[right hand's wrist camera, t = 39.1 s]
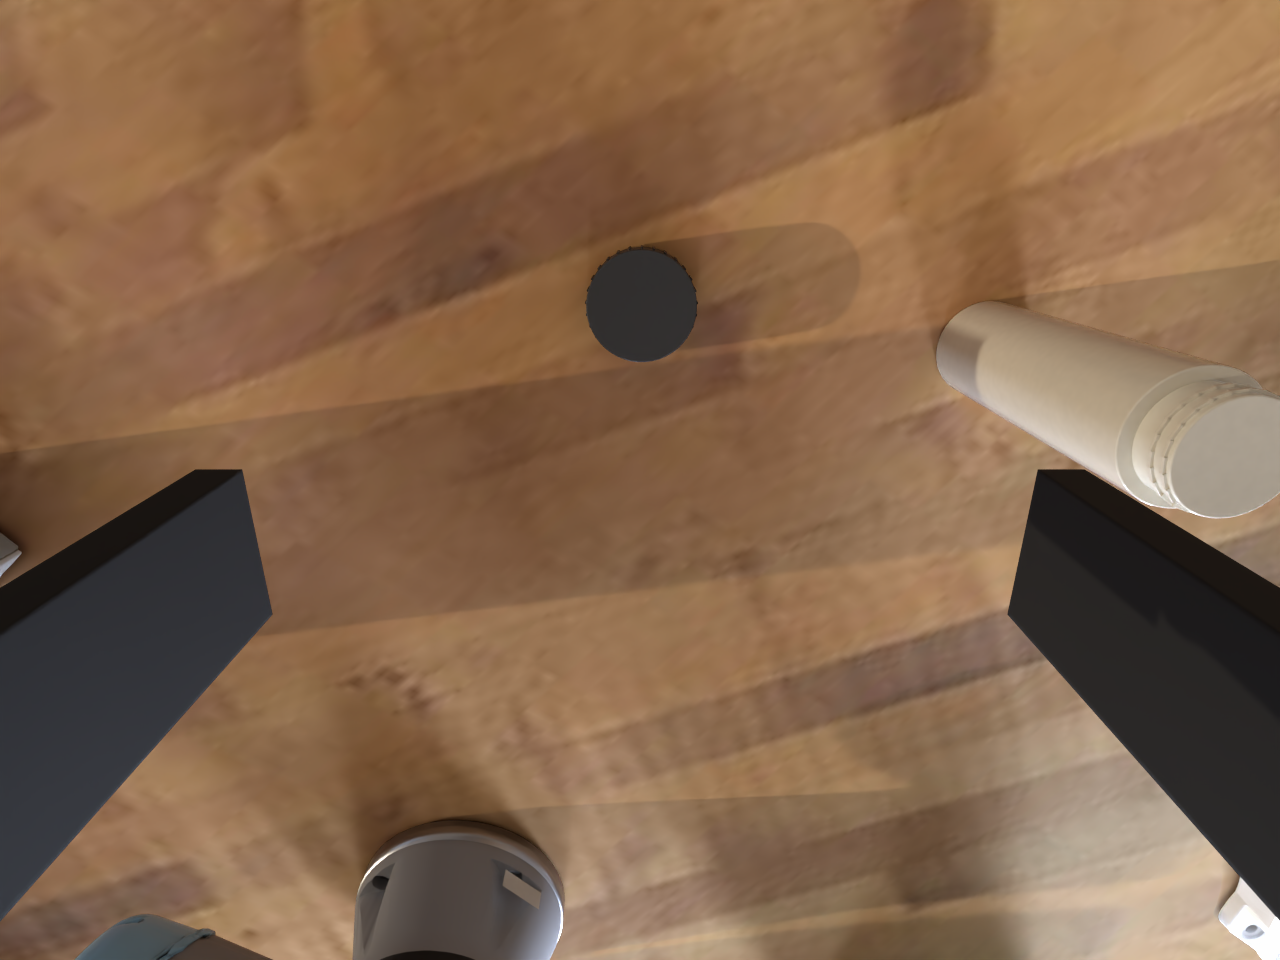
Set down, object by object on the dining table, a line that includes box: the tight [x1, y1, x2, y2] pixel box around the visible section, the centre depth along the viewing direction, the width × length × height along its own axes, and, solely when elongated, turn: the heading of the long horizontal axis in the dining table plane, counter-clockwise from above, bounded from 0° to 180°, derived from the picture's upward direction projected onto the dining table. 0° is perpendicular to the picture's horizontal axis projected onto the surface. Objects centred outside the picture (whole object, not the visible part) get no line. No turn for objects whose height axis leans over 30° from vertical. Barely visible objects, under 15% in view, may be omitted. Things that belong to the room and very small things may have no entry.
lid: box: [585, 245, 698, 362], centre depth 39 cm, size 6×6×2 cm
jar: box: [936, 301, 1280, 518], centre depth 32 cm, size 5×5×18 cm
